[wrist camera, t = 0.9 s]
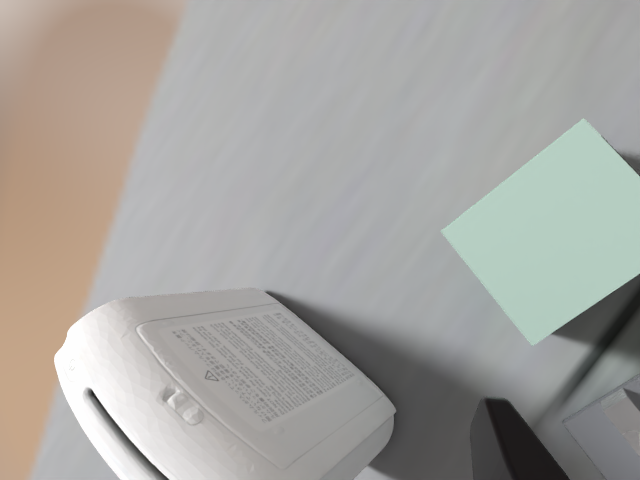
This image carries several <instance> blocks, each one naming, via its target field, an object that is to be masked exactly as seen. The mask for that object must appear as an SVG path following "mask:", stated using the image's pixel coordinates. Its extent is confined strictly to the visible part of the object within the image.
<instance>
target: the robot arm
mask: <svg viewBox="0 0 640 480" xmlns="http://www.w3.org/2000/svg"><path fill="white" fill-rule="evenodd" d="M470 441H471V453H472V465H473V478H474V480H570V479H569V478H568V476H567V475H566V474H565V472H564V471H563V470H562V469H561V467H560V466H559V465H558V463H557V462H556V461H555V460H554V458H553V457H552V456H551V454H550V453H549V452H548V451H547V449H546V448H545V447H544V445H543V444H542V443H541V441H540V440H539V439H538V438H537V436H536V435H535V434H534V432H533V431H532V430H531V429H530V427H529V426H528V425H527V423H526V422H525V421H524V420H523V418H522V417H521V416H520V414H519V413H518V412H517V411H516V409H515V408H514V407H513V405H512V404H511V403H510V402H509V401H508V400H507V399H505V398H498V397H483V398H482V399H481V401H480V403H479V406H478V408H477V411H476V414H475V416H474V419H473V421H472V424H471V430H470Z"/></svg>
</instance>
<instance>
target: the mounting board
mask: <svg viewBox="0 0 640 480" xmlns="http://www.w3.org/2000/svg"><path fill="white" fill-rule="evenodd" d="M563 425H564V426H565V427H566V429H567V430H568V431H569V432H570V434H571V435H572V436H573V438H574V439H575V440H576V441H577V443H578V444H579V445H580V447H581V448H582V449H583V450H584V452H585V453H586V454H587V456H588V457H589V458H590V459H591V461H592V462H593V463H594V465H595V466H596V467H597V468H598V470H599V471H600V472H601V474H602V475H603V476H604V477H605V479H606V480H640V374H639V375H637V376H635V377H634V378H632V379H630V380H629V381H627V382H626V383H624V384H622V385H621V386H619V387H617V388H616V389H614V390H613V391H611V392H609V393H608V394H606V395H604V396H603V397H601V398H600V399H598V400H596V401H595V402H593V403H591V404H590V405H588V406H586V407H585V408H583V409H582V410H580V411H578V412H577V413H575V414H573V415H572V416H570V417H569V418H567V419H565V420H564V421H563Z"/></svg>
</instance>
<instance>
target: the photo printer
mask: <svg viewBox="0 0 640 480" xmlns="http://www.w3.org/2000/svg"><path fill="white" fill-rule="evenodd" d="M54 361H55V367H56V370H57V374H58V377H59V380H60V384H61V386H62V389H63V391H64V394H65V396H66V399H67V401H68V403H69V405H70V407H71V409H72V410H73V412H74V414H75V416H76V418H77V420H78V422H79V423H80V425H81V427H82V428H83V430H84V431H85V433H86V435H87V436H88V438H89V439H90V441H91V442H92V444H93V445H94V446H95V448H96V449H97V450H98V452H99V453H100V455H101V456H102V457H103V459H104V460H105V461H106V462H107V464H108V465H109V466H110V467H111V469H112V470H113V471H114V472H115V473H116V475H117V476H118V477H119V478H120V479H121V480H353V479H354V478H355V477H356V476H357V475H358V474H359V473H360V472H361V471H362V470H363V469H364V468H365V467H366V466H367V465H368V464H369V463H370V462H371V461H372V460H373V459H374V458H375V457H376V456H377V455H378V454H379V452H380V451H381V450H382V449H383V448H384V447H385V446H386V444H387V443H388V441H389V439H390V438H391V435H392V431H393V426H394V416H393V415H394V414H395V413H396V409H395V407H394V405H393V404H392V403H391V401H390V400H389V399H388V398H387V396H386V395H385V394H384V393H383V392H382V391H381V390H380V389H379V388H378V387H377V386H376V385H375V384H374V383H373V382H372V381H371V380H370V379H369V378H368V377H367V376H365V375H364V374H363V373H362V372H361V371H360V370H359V369H358V368H357V367H356V366H354V365H353V364H352V363H351V362H350V361H349V360H348V359H346V358H345V357H344V356H343V355H342V354H341V353H340V352H338V351H337V350H336V349H335V348H334V347H333V346H331V345H330V344H329V343H328V342H327V341H326V340H324V339H323V338H322V337H321V336H320V335H319V334H318V333H316V332H315V331H314V330H313V329H312V328H310V327H309V326H308V325H307V324H306V323H305V322H303V321H302V320H301V319H300V318H298V316H296V315H295V314H294V313H293V312H291V311H290V310H289V309H288V308H286V307H285V306H284V305H282V304H281V303H280V302H278V301H277V300H276V299H274V298H273V297H271V296H270V295H268V294H267V293H265V292H263V291H261V290H259V289H256V288H239V289H229V290H217V291H205V292H193V293H180V294H168V295H157V296H143V297H129V298H122V299H117V300H115V301H112V302H109V303H107V304H105V305H102V306H100V307H98V308H96V309H94V310H93V311H91V312H90V313H88V314H87V315H85V316H84V317H82V318H81V319H80V320H79V321H77V322H76V323H75V324H74V325H73V326H72V327H71V328H70V329H69V331H68V333H67V338H66V341H65V343H64V345H63V346H62V348H61V349H60V350H59V351H58V352H57V353H56V355H55V359H54Z"/></svg>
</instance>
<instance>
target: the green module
mask: <svg viewBox="0 0 640 480" xmlns="http://www.w3.org/2000/svg"><path fill="white" fill-rule="evenodd" d="M441 232H442V234H443V235H444V236H445V238H446V239H447V240H448V241H449V243H450V244H451V245H452V246H453V248H454V249H455V250H456V251H457V253H458V254H459V255H460V256H461V258H462V259H463V260H464V261H465V263H466V264H467V265H468V266H469V268H470V269H471V270H472V271H473V273H474V274H475V275H476V276H477V278H478V279H479V280H480V281H481V283H482V284H483V285H484V286H485V288H486V289H487V290H488V291H489V293H490V294H491V295H492V297H493V298H494V299H495V300H496V302H497V303H498V304H499V305H500V307H501V308H502V309H503V310H504V312H505V313H506V314H507V315H508V317H509V318H510V319H511V320H512V322H513V323H514V324H515V325H516V327H517V328H518V329H519V330H520V332H521V333H522V334H523V335H524V337H525V338H526V339H527V340H528V342H529V343H530V344H531V345H532V346H533V345H535V344H536V343H538V342H539V341H541V340H542V339H544V338H545V337H547V336H548V335H550V334H551V333H552V332H554V331H555V330H557V329H558V328H560V327H561V326H563V325H564V324H566V323H567V322H569V321H570V320H572V319H573V318H575V317H576V316H578V315H579V314H581V313H582V312H584V311H585V310H587V309H588V308H590V307H591V306H593V305H594V304H595V303H597V302H598V301H600V300H601V299H603V298H604V297H606V296H607V295H609V294H610V293H612V292H613V291H615V290H616V289H618V288H619V287H621V286H622V285H624V284H625V283H627V282H628V281H630V280H631V279H633V278H634V277H636V276H637V275H638V274H640V175H639V174H638V173H637V172H636V171H635V170H634V169H633V168H632V167H631V166H630V165H629V164H628V163H627V162H626V161H625V160H624V159H623V158H622V156H621V155H620V154H619V153H618V152H617V151H616V150H615V149H614V148H613V147H612V146H611V145H610V144H609V143H608V142H607V141H606V140H605V139H604V138H603V137H602V136H601V135H600V134H599V133H598V132H597V131H596V130H595V129H594V128H593V127H592V126H591V125H590V124H589V123H588V122H587V121H586V120H585V119H584V118H583V119H582V120H580V121H579V122H578V123H577V124H575V125H574V126H573V127H572V128H570V129H569V130H568V131H567V132H565V133H564V134H563V135H562V136H560V137H559V138H558V139H556V140H555V141H554V142H553V143H551V144H550V145H549V146H548V147H546V148H545V149H544V150H543V151H541V152H540V153H539V154H537V155H536V156H535V157H534V158H532V159H531V160H530V161H529V162H527V163H526V164H525V165H524V166H522V167H521V168H520V169H519V170H517V171H516V172H515V173H513V174H512V175H511V176H510V177H508V178H507V179H506V180H505V181H503V182H502V183H501V184H500V185H498V186H497V187H496V188H495V189H493V190H492V191H491V192H489V193H488V194H487V195H486V196H484V197H483V198H482V199H481V200H479V201H478V202H477V203H476V204H474V205H473V206H472V207H471V208H469V209H468V210H467V211H465V212H464V213H463V214H462V215H460V216H459V217H458V218H457V219H455V220H454V221H453V222H452V223H450V224H449V225H448V226H447V227H445V228H444V229H443V230H441Z"/></svg>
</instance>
